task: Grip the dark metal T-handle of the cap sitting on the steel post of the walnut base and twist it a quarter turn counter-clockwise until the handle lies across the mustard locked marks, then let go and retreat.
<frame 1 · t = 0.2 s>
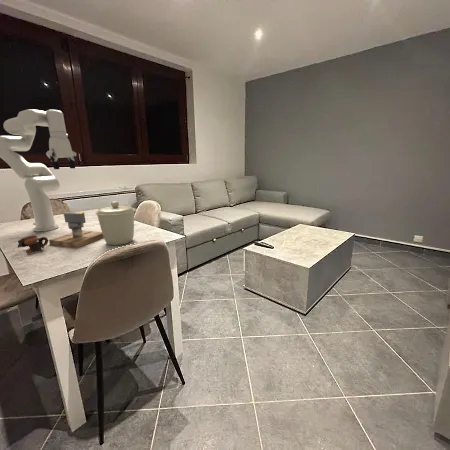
hand: (64, 168, 136), 36 cm above the table, tool pointing down, fingers open, 9 cm apart
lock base: (78, 240, 131), on the table
canister: (120, 242, 127), on the table
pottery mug: (35, 251, 117), on the table
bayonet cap: (75, 219, 128), point 11 cm above the table, hinge at 0.0°
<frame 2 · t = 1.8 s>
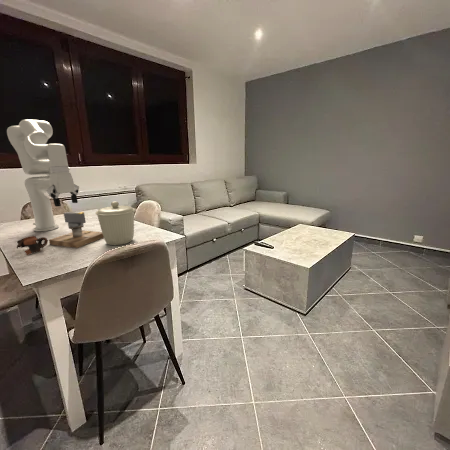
hand: (66, 204, 126), 19 cm above the table, tool pointing down, fingers open, 9 cm apart
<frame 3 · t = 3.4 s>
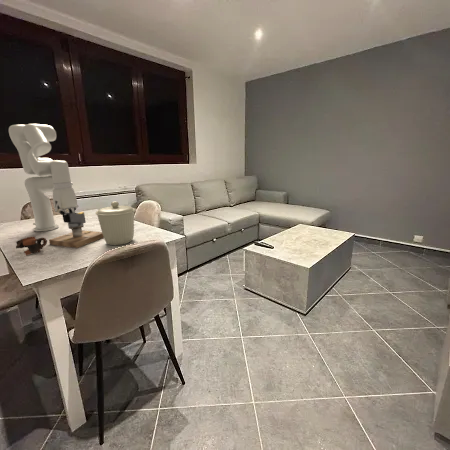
hand: (69, 221, 129), 10 cm above the table, tool pointing down, fingers closed on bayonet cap, 2 cm apart
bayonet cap: (75, 219, 128), point 11 cm above the table, hinge at 0.0°, touching gripper
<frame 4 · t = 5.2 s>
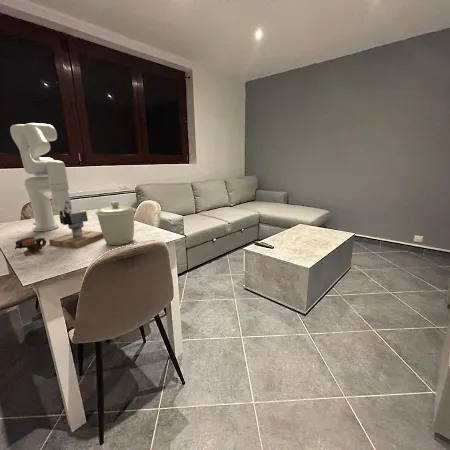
hand: (66, 223, 125), 10 cm above the table, tool pointing down, fingers closed on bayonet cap, 3 cm apart
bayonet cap: (75, 219, 128), point 11 cm above the table, hinge at 59.1°, touching gripper
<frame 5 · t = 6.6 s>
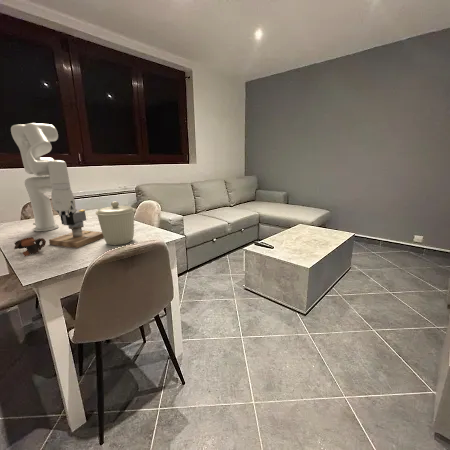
hand: (68, 223, 124), 10 cm above the table, tool pointing down, fingers open, 3 cm apart
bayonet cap: (75, 219, 128), point 11 cm above the table, hinge at 86.9°
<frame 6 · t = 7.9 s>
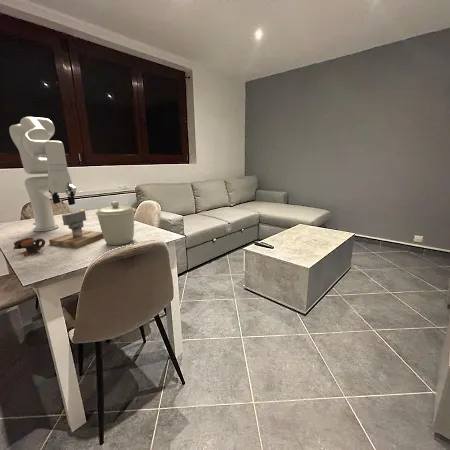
hand: (64, 203, 122), 20 cm above the table, tool pointing down, fingers open, 9 cm apart
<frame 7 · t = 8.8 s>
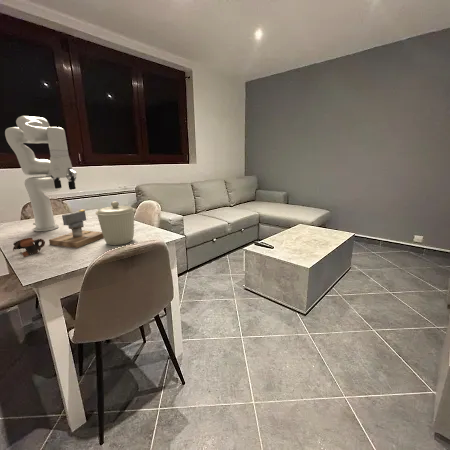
hand: (65, 188, 127), 27 cm above the table, tool pointing down, fingers open, 9 cm apart
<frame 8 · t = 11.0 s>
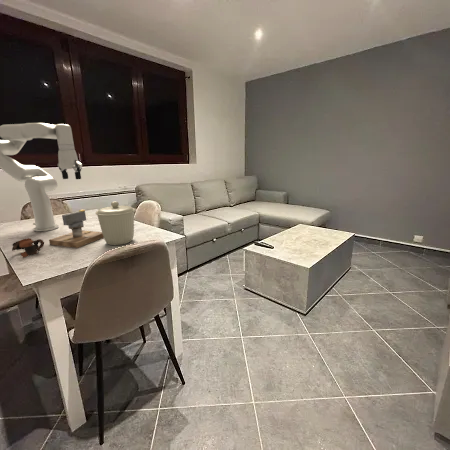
hand: (72, 179, 143), 30 cm above the table, tool pointing down, fingers open, 9 cm apart
at the end: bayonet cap at +87° (first picture: +0°); the gripper is holding nothing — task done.
